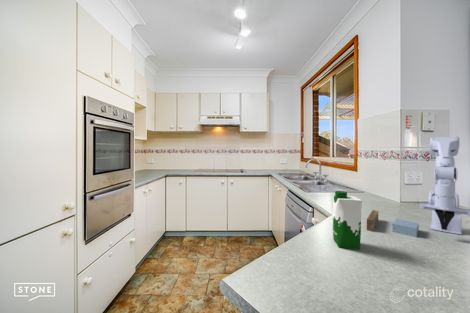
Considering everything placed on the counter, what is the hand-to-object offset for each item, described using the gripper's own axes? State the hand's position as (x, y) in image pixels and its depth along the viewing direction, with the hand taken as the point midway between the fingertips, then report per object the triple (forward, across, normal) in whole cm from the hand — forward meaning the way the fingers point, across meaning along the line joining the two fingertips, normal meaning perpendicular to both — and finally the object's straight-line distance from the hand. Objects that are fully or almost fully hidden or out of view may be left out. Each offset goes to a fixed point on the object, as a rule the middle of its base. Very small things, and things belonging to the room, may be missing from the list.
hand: (443, 229), depth 83 cm
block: (+4, -12, 0) cm, 13 cm away
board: (+4, -24, 0) cm, 25 cm away
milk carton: (+4, -29, -33) cm, 44 cm away
